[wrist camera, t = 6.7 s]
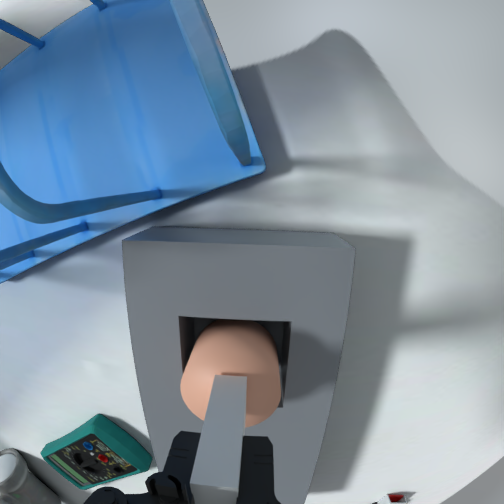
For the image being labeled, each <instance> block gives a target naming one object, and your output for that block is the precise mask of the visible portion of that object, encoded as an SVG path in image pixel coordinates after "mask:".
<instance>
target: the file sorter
mask: <svg viewBox="0 0 504 504" xmlns="http://www.w3.org/2000/svg"><path fill="white" fill-rule="evenodd" d="M90 1H91V2H92V3H93V4H92V5H91V6H89V7H87V8H85V9H84V10H82V11H80V12H79V13H77V14H75V15H74V16H72V17H71V18H69V19H67V20H66V21H64V22H63V23H61V24H60V25H58V26H57V27H55V28H54V29H52V30H51V31H50V32H48V33H47V34H45V35H44V36H43V37H41V38H40V39H38V38H36V37H34V36H32V35H31V34H29V33H27V32H25V31H23V30H21V29H19V28H17V27H16V26H14V25H12V24H10V23H8V22H6V21H4V20H2V19H0V29H1V30H3V31H5V32H7V33H9V34H11V35H13V36H15V37H18V38H20V39H22V40H24V41H26V42H28V43H30V44H32V45H30V46H29V47H28V48H27V49H25V50H24V51H23V52H22V53H20V54H19V55H18V56H17V57H15V58H14V59H13V60H12V61H11V62H9V63H8V64H7V65H6V66H5V67H4V68H2V69H1V70H0V284H1V283H3V282H5V281H7V280H9V279H10V278H12V277H14V276H16V275H18V274H20V273H22V272H24V271H26V270H28V269H30V268H32V267H34V266H36V265H38V264H40V263H42V262H44V261H46V260H48V259H50V258H52V257H54V256H56V255H58V254H61V253H63V252H65V251H67V250H69V249H71V248H73V247H76V246H78V245H80V244H82V243H84V242H87V241H89V240H91V239H93V238H96V237H98V236H100V235H102V234H105V233H107V232H109V231H112V230H114V229H116V228H119V227H121V226H123V225H126V224H128V223H130V222H133V221H135V220H138V219H140V218H143V217H145V216H147V215H150V214H152V213H155V212H157V211H160V210H162V209H165V208H167V207H170V206H173V205H175V204H178V203H180V202H183V201H186V200H188V199H191V198H194V197H196V196H199V195H202V194H204V193H207V192H210V191H213V190H215V189H218V188H221V187H224V186H226V185H229V184H232V183H235V182H238V181H241V180H244V179H247V178H250V177H253V176H256V175H259V174H262V173H263V172H265V170H266V164H265V161H264V159H263V156H262V153H261V150H260V147H259V145H258V142H257V139H256V136H255V134H254V131H253V128H252V125H251V122H250V119H249V117H248V114H247V111H246V108H245V106H244V103H243V100H242V98H241V95H240V92H239V90H238V87H237V85H236V82H235V79H234V77H233V74H232V71H231V69H230V66H229V64H228V61H227V58H226V56H225V53H224V51H223V48H222V46H221V43H220V41H219V38H218V36H217V33H216V31H215V29H214V26H213V24H212V21H211V19H210V17H209V14H208V12H207V9H206V7H205V4H204V2H203V0H90Z"/></svg>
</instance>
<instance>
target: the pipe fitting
mask: <svg viewBox="0 0 504 504" xmlns="http://www.w3.org/2000/svg"><path fill="white" fill-rule="evenodd" d="M0 504H61V500H60V498H59V497H58V495H56V494H55V493H54V492H53V491H52V490H50V489H49V488H48V487H47V486H46V485H44V484H43V483H42V482H41V481H40V480H39V479H37V478H36V477H35V476H34V475H33V474H32V473H31V472H30V471H29V470H28V467H27V463H26V461H25V459H24V458H23V457H22V456H21V455H20V454H19V453H18V452H17V451H16V450H15V449H12V448H9V449H5V450H2V451H1V452H0Z"/></svg>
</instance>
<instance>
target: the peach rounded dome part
mask: <svg viewBox="0 0 504 504" xmlns="http://www.w3.org/2000/svg"><path fill="white" fill-rule="evenodd" d="M215 375H229V376H247V392H246V421H245V428H246V427H250V426H254V425H256V424H259V423H261V422H263V421H264V420H266V419H267V418H269V417H270V416H271V415H272V414H273V413H274V411H275V410H276V408H277V407H278V405H279V402H280V398H281V386H280V374H279V363H278V353H277V346H276V343H275V341H274V339H273V337H272V335H271V334H270V333H269V332H268V331H267V330H266V329H265V328H264V327H263V326H261V325H260V324H258V323H256V322H254V321H252V320H237V319H219V320H216V321H214V322H212V323H210V324H209V325H207V326H206V327H205V328H204V329H203V330H202V331H201V333H200V334H199V336H198V338H197V340H196V343H195V345H194V348H193V350H192V353H191V355H190V358H189V360H188V363H187V366H186V368H185V371H184V373H183V376H182V379H181V384H180V390H181V395H182V398H183V400H184V402H185V404H186V405H187V407H188V408H189V409H190V411H191V412H192V413H193V414H195V415H196V416H197V417H199V418H200V419H201V420H203V421H204V419H205V415H206V411H207V406H208V402H209V398H210V394H211V390H212V385H213V381H214V377H215Z"/></svg>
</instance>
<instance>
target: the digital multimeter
mask: <svg viewBox="0 0 504 504" xmlns="http://www.w3.org/2000/svg"><path fill="white" fill-rule="evenodd" d="M68 445H69V446H68ZM66 446H67V447H66ZM64 447H65V448H64ZM62 448H63V449H62ZM60 449H61V450H60ZM74 452H75V453H74ZM41 455H42V457H43V459H44V460H45V461H46V462H47V463H48V464H49V465H50V466H52V467H53V468H54V469H55V470H56V471H57V472H58V473H60V474H61V475H62V476H63V477H64V478H66V479H67V480H68V481H70V482H71V483H72V484H74V485H75V486H77V487H78V488H79V489H82V490H87V489H89V488H92V487H95V486H97V485H100V484H103V483H106V482H110V481H113V480H117V479H120V478H124V477H127V476H131V475H134V474H138V473H142V472H146V471H148V470H149V467H150V464H151V461H152V457H151V455H150V454H149V453H148V452H147V451H146V450H145V449H144V448H143V447H142V446H141V445H140V444H139V443H138V442H137V441H136V440H135V439H134V438H133V437H131V436H130V435H129V434H128V433H127V432H126V431H124V430H123V429H121V428H120V427H119V426H117V425H116V424H114V423H113V422H112V421H110V420H109V419H107V418H106V417H104V416H103V415H101V414H97V415H95V416H94V417H93V418H91V419H90V420H89V421H87V422H86V423H84V424H83V425H81V426H80V427H78V428H77V429H75V430H74V431H72V432H71V433H69V434H67V435H65V436H63V437H61V438H60V439H57V440H55V441H53V442H50V443H48V444H46V446H45V447H44V448H43V450H42V451H41ZM72 456H73V457H72ZM77 464H78V465H77ZM85 470H86V471H85Z"/></svg>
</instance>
